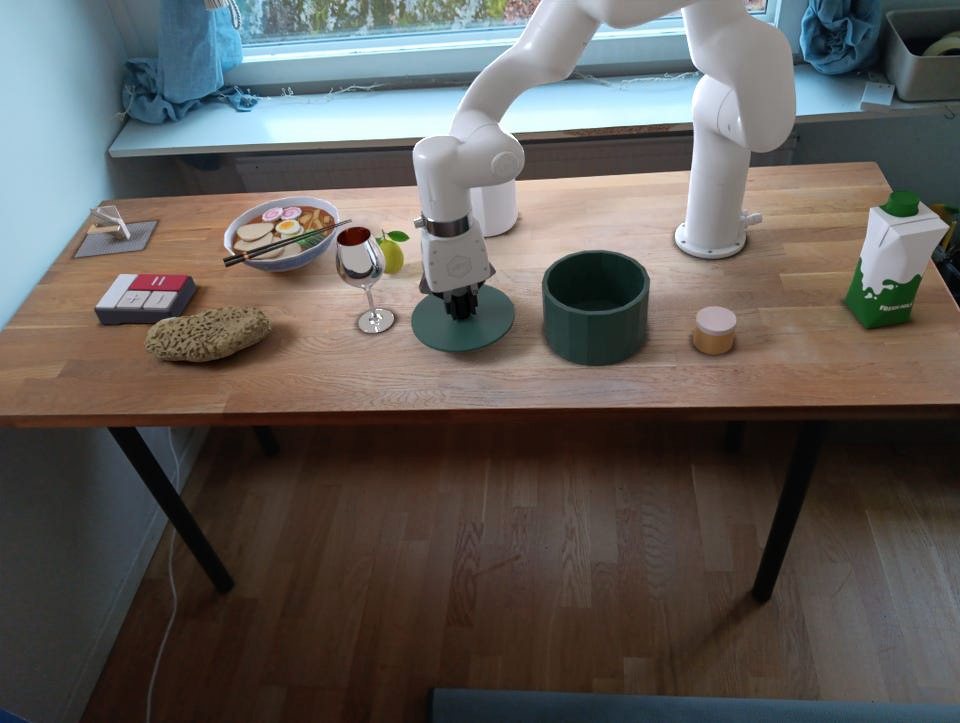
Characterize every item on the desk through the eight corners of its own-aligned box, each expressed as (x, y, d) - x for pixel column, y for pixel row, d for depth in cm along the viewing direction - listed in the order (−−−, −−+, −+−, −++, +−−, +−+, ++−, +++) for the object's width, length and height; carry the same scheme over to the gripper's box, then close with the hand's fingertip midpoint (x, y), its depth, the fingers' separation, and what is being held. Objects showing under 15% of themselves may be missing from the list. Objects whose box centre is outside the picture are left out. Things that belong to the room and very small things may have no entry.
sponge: (152, 375, 126) (245, 368, 118) (131, 337, 122) (225, 326, 115) (197, 337, 136) (284, 328, 129) (178, 300, 133) (267, 289, 125)
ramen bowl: (334, 213, 157) (325, 179, 151) (368, 265, 141) (359, 230, 136) (220, 250, 151) (206, 216, 145) (243, 309, 135) (228, 274, 129)
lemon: (415, 268, 139) (407, 223, 132) (399, 285, 136) (389, 240, 129) (387, 260, 142) (377, 216, 135) (370, 277, 138) (359, 233, 131)
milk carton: (885, 290, 121) (923, 184, 107) (917, 324, 114) (963, 215, 101) (835, 299, 120) (867, 194, 107) (864, 334, 114) (903, 226, 100)
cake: (719, 325, 119) (723, 302, 115) (739, 348, 114) (744, 324, 111) (686, 335, 118) (689, 312, 114) (705, 359, 114) (709, 335, 110)
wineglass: (362, 342, 125) (338, 257, 112) (346, 317, 130) (321, 233, 118) (406, 325, 127) (386, 239, 115) (388, 301, 132) (368, 216, 120)
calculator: (167, 308, 131) (90, 306, 133) (176, 326, 134) (100, 324, 136) (191, 272, 139) (117, 270, 141) (198, 289, 142) (126, 288, 144)
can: (469, 202, 154) (458, 112, 141) (525, 207, 151) (519, 116, 137) (448, 234, 146) (434, 143, 132) (507, 241, 142) (498, 147, 129)
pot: (545, 301, 128) (542, 251, 121) (642, 298, 126) (645, 247, 118) (543, 366, 116) (540, 316, 109) (650, 364, 114) (655, 313, 107)
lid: (419, 289, 130) (414, 261, 126) (517, 286, 128) (515, 257, 123) (404, 356, 117) (397, 327, 113) (512, 354, 115) (510, 325, 111)
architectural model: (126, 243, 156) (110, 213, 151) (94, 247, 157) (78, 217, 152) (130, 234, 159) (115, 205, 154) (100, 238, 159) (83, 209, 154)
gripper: (402, 245, 105) (421, 339, 117) (507, 218, 107) (515, 313, 120) (391, 219, 110) (410, 312, 123) (491, 194, 113) (500, 288, 125)
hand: (462, 312), depth 121 cm, fingers closed on lid, 2 cm apart
